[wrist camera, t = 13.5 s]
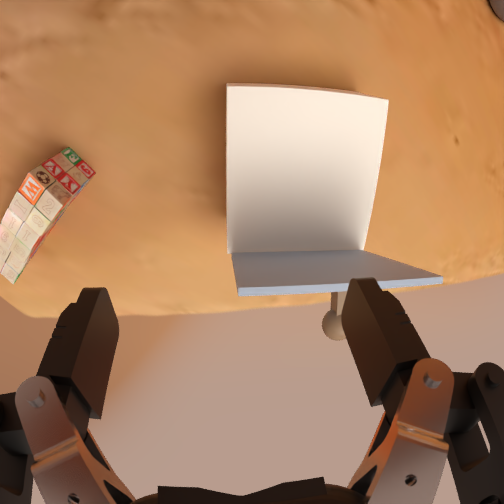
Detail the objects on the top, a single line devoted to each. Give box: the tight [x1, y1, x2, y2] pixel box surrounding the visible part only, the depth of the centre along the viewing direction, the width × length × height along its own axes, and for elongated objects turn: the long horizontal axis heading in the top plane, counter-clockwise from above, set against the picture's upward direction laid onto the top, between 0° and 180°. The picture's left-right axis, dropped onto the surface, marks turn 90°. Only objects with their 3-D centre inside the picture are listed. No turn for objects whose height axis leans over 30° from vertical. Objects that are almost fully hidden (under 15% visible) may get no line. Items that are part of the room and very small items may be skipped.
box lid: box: [232, 250, 443, 340], centre depth 32 cm, size 18×17×6 cm
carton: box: [226, 83, 389, 254], centre depth 40 cm, size 20×18×10 cm
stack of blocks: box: [0, 147, 96, 284], centre depth 39 cm, size 21×6×12 cm, turn 130°
